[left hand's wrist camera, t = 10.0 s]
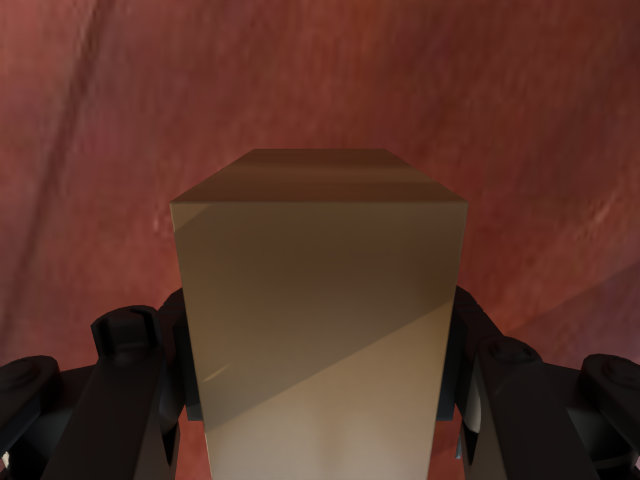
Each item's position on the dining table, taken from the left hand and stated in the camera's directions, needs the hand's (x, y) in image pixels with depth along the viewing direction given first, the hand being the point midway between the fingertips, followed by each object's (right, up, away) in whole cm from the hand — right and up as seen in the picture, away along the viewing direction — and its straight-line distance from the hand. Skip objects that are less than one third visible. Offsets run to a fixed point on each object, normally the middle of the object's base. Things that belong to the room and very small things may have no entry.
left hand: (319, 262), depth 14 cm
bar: (0, -6, +3) cm, 7 cm away
